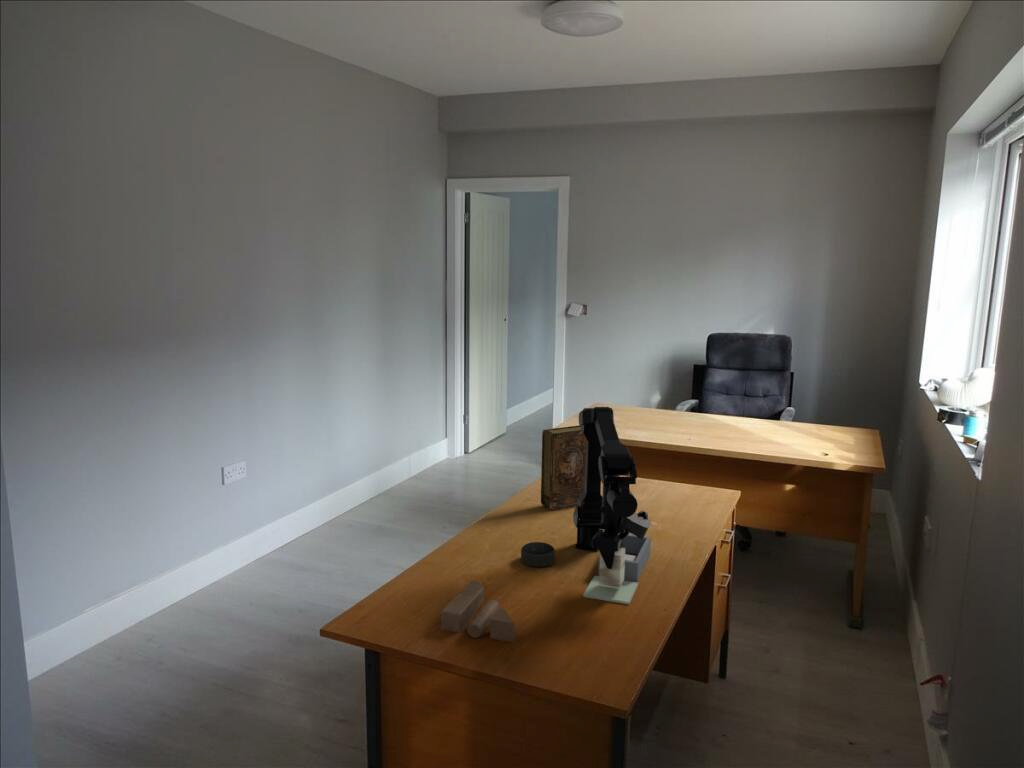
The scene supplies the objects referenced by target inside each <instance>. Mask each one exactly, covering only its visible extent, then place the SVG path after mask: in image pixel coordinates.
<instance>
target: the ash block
mask: <svg viewBox="0 0 1024 768" xmlns="http://www.w3.org/2000/svg"><path fill="white" fill-rule="evenodd" d="M625 554H626V553H625V548H620V549H619V550H618V551H616V553H615V557H614V562H613V566H612V569H608V568H607V567H606V564H605V562H604V560H603V558H602V556H601V553H600V552H599V556H600V573H599V584H600V585H606V586H612V587H618V588H620V586H621V584H622V582H623V580H624V570H625ZM624 581H625V580H624Z"/></svg>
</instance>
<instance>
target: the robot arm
mask: <svg viewBox="0 0 1024 768" xmlns="http://www.w3.org/2000/svg"><path fill="white" fill-rule="evenodd" d="M614 417H615V415H614V409H613V408H612V407H610V406H594V407H584V408H582V410H580V412H579V413H578V425H581V430H582V432H583V434H584V436H585V437H586V456H585V483H584V491H583V492H582V493H581V495H580V496H579V498H578V506H576V507H574V511H573V513H572V517H573V519H572V520H573V524H574V527H575V528H576V531H577V532H576V544H575V545H574V548H576V549H581V550H587V551H593V552H598V551H599V554H600V553H601V556H602V558H603V560H604V562H605V564H606V567H607V568H608V569H612V566H613V562H614V557H615V553H616V551H618V550H619V549H620V548H621V546H622V544H621V543H622V540H623V538H625V537H626V536H627V535H628V534H630V535H635V536H637V537H638V538H640V539H643V538H644V537H646V536H645V535H646V534H647V532H648V530H649V527H650V526H651V519H649V515H648V512H647V511H645V510H643V509H642V510H641V511H639V512H638V513H637V509H638V500H637V498H636V497H635V495H634V494H633V492H632V491H630V485H636V484H637V479H638V473H637V468H636V463H635V460H634V457H633V455H631V452H630V451H629V447H628V446H627V445H625V444H623V443H622V442H621V441H620V437H619V435H618V432H617V428H616V425H615V420H614ZM601 489H602V490H601ZM601 493H602V494H601Z"/></svg>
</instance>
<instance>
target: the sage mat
mask: <svg viewBox="0 0 1024 768" xmlns="http://www.w3.org/2000/svg"><path fill="white" fill-rule="evenodd" d="M638 586H639V582H632V581H626V580H623V582H622V584H621V586H620V588H618V587H612V586H606V585H600V584H599V576H598V575H594V576H593V577H592V579H591V581H590V582H589V585H588V586H587V587H586V589H585V590H584V592H583V593H582V594H583V595H582V597H583V598H586V599H587V598H588V599H595V600H601V601H604V602H605V601H606V602H612V603H615V604H616V603H617V604H623V605H630V603H631V601H632V599H633V597H634V595H635V593H636V591H637V588H638Z"/></svg>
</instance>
